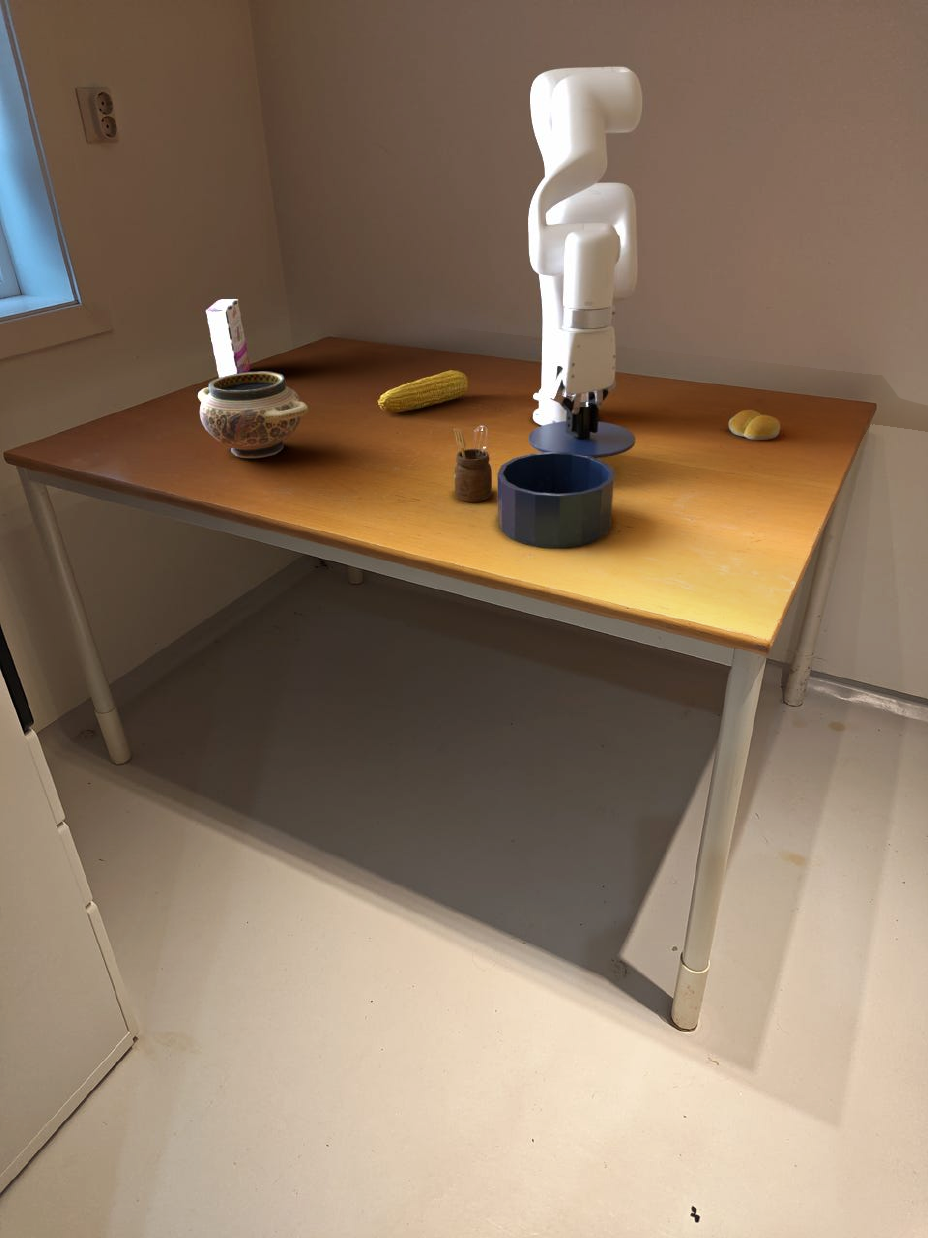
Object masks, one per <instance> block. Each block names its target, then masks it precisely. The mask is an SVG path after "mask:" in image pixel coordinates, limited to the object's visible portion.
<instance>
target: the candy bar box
mask: <svg viewBox="0 0 928 1238" xmlns="http://www.w3.org/2000/svg"><path fill="white" fill-rule="evenodd" d="M240 308H241V307H240V302H239V299H238V298H237V299H236V298H231V299H230V298H228V299H218V300H217V301H216V302H214V303H213V304H212V305H211V306H210V307H208V308H207V309H206V310H205V313H206V318H207V319H206V320H207V324H208V328H209V333H210V338H211V343H212V349H213V354H214V359H215V365H216V370H217V374H218V378H220V377H224V376H228V375H233V374H238V373H246V372H250V370H251V366H250V365H251V364H250V359H249V354H248V348H247V342H246V337H245V330H244V326H243V325H244V324H243V319H242V314H241V309H240Z"/></svg>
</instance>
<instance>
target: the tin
mask: <svg viewBox="0 0 928 1238" xmlns="http://www.w3.org/2000/svg"><path fill="white" fill-rule="evenodd" d="M615 475H616V473H615V470H613V468H612V467H611V466H610V465H609V464H608V463H606V461H603V460H600V459H599V458H594V457H590V456H585V455H581V454H576V453H565V452H544V453H543V452H534V453H528V454H524V455H521V456H518V457H514V458H511V459H510V460H508V461H506V462H504V463H503V464H501V466H500V468H499V470H498V472H497V475H496V477H497V479H496V480H497V481H496V482H497V487H496V488H497V522H498V526H499V527H498V528H499V529H500V531H501V532H502V533H503V534H504V535H505V536H506V537H508V538H509V539H511V540H513V541H516V542H517V543H521V544H523V545H527V546H532V547H537V548H545V549H563V548H564V549H566V548H574V547H581V546H585V545H588V544H591V543H595V542H596V541H599V540H600V539H602V538H604V537H605V536H606V535H607V534H608V533H609V531H610V530H611V529H610V528H611V522H612V517H613V516H612V513H613V500H614V488H615Z"/></svg>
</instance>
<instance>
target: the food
mask: <svg viewBox="0 0 928 1238" xmlns="http://www.w3.org/2000/svg"><path fill="white" fill-rule="evenodd" d="M468 381H469V380H468V377H467V376H466V375H465V373H463V372H461V371H459V370H452V369H450V370H448V371H443V372H442V373H441V372H440V373H437V374H434V375H431V376H427V377H424V378H421V379H418V380H417V379H416V380H415V381H412V382H407V383H406V384H405V383H403V384H401V385H399V386H396V387H393V388H391V389H389V390H387V391H386V392H385V393H383V394H382V395H380V397H379V399H378V400H377V404H378V405H377V406H378V407H380V410H382V411H384V412H385V413H387V412H388V413H402V412H407V411H413V410H418V409H423V408H428V407H431V406H434V405H436V404H441V403H445V402H448V401H451V400H455V399H458V398H460V397H461V396H464V395H465V394H466V393H467V392H468V391H467V390H468V387H469V382H468Z"/></svg>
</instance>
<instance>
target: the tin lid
mask: <svg viewBox="0 0 928 1238" xmlns="http://www.w3.org/2000/svg"><path fill="white" fill-rule="evenodd" d="M591 411H592V404H591V403H588V402H580V408H579V413H582V424H581V436H580V437H575V436H572V435H570V434H567V433H566V421H563V422H556V423H551V424H547V425H543V426H542V425H540V426H538V427H536V428H534V429H533V430H532V431H531V432H530V433H529V435H528V443H529V445H530V446H531V447H532V448H533V449H535V450H536V451H538V452H539V453H544V452H565V453H576V454H581V455H585V456H590V457H594V458H596V459H602V458H603V459H604V458H609V457H614V456H617V455H621V454H624V453H627V452H628V451H630V450H631V449H633V447H634V446H635V444H636V437H635V434H634V433H633V432H632V431H631V430H629V429H627V428H625V427H623V426H620V425H617V424H614V423H609V422H604V421H598V432H597V433H592V432H590V430H591Z"/></svg>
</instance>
